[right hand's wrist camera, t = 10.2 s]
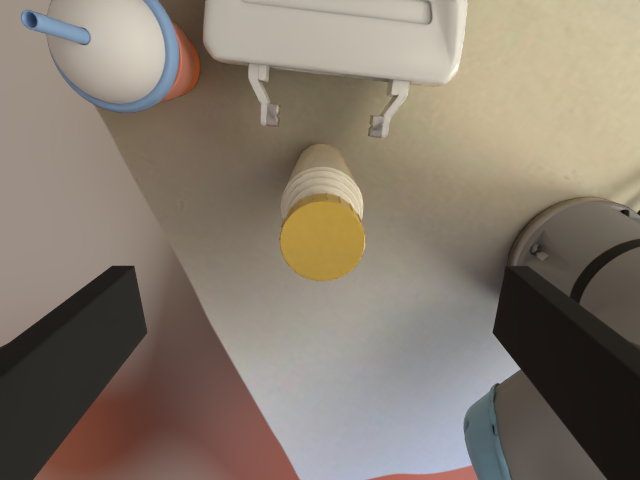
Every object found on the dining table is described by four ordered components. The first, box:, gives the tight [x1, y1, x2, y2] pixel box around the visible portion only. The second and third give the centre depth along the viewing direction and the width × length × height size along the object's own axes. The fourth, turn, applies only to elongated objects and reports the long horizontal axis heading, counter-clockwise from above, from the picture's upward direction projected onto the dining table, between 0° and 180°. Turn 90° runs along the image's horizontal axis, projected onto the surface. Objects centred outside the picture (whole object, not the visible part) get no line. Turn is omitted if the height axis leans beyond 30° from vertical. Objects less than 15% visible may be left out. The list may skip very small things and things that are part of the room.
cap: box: [280, 193, 365, 281], centre depth 18 cm, size 4×4×2 cm
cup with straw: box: [21, 0, 200, 113], centre depth 27 cm, size 9×9×18 cm
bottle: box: [281, 143, 363, 221], centre depth 28 cm, size 5×5×23 cm
